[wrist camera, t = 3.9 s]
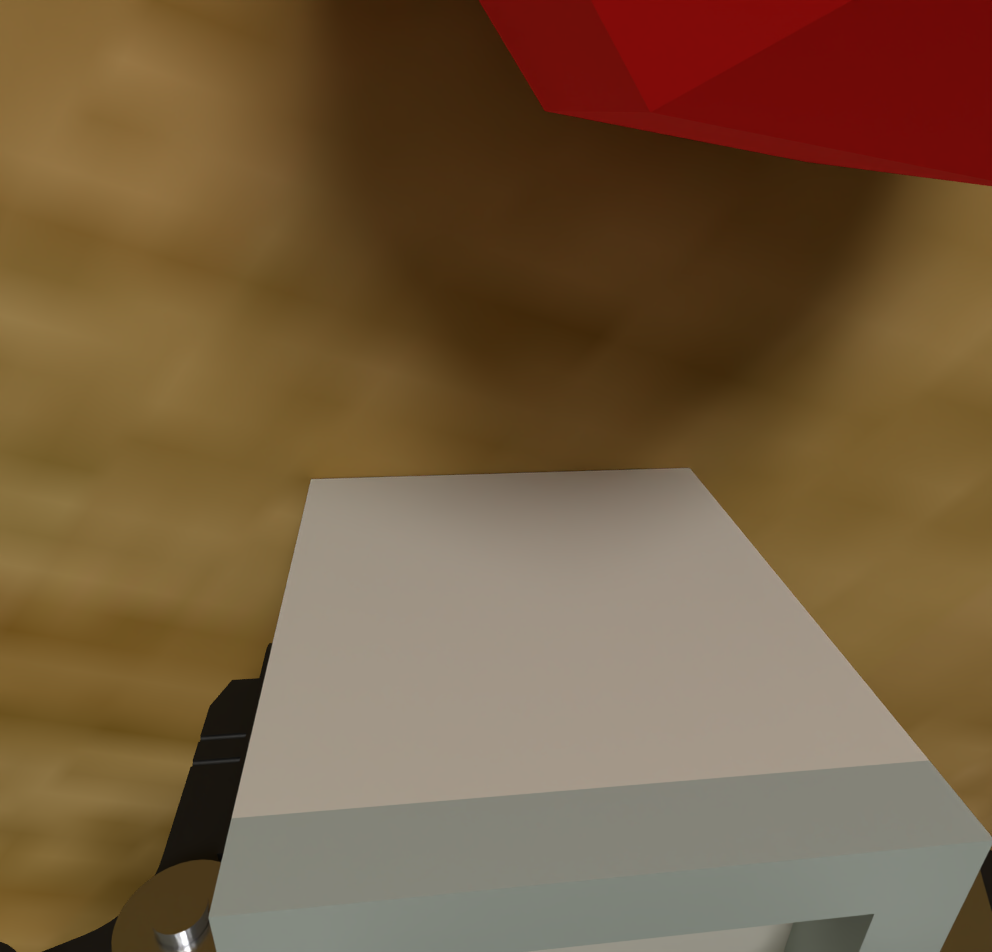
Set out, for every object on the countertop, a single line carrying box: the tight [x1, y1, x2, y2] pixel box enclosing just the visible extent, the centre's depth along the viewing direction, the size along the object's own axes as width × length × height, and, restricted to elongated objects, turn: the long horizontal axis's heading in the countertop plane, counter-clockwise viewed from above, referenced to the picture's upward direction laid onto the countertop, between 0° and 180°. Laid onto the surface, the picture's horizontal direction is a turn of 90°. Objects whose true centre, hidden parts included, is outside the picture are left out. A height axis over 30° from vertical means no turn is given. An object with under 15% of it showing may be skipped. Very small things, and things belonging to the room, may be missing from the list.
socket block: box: [208, 468, 992, 952], centre depth 10 cm, size 6×6×7 cm
